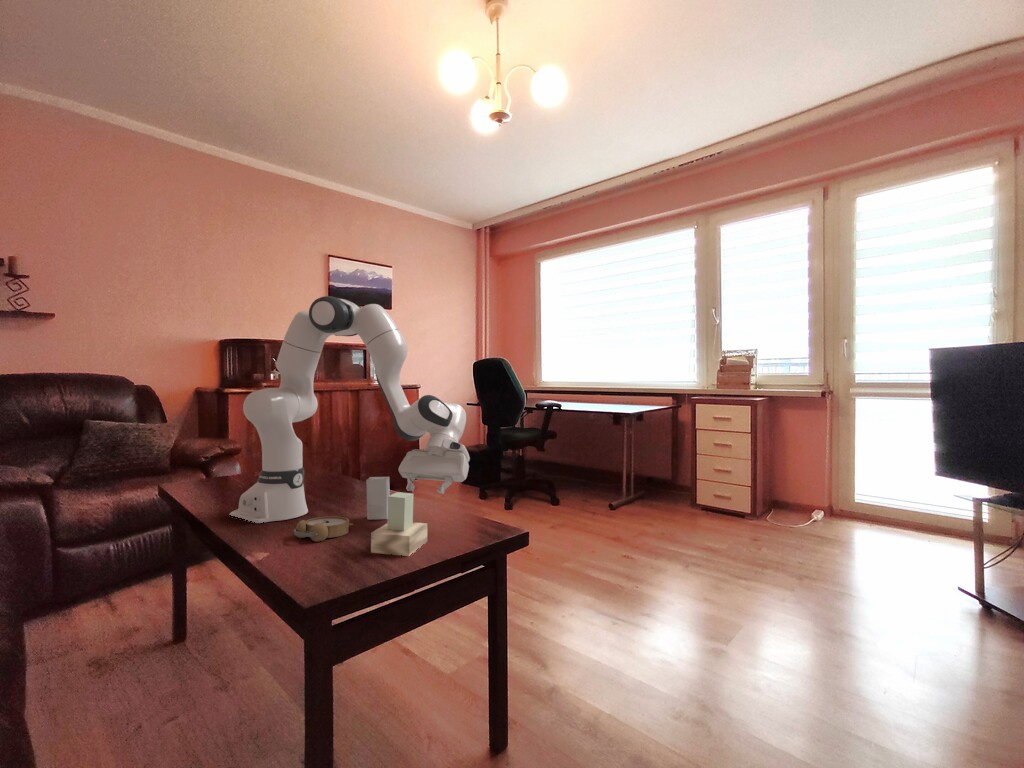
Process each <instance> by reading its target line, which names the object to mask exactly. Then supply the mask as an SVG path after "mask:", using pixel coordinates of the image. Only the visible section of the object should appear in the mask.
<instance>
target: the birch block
mask: <svg viewBox="0 0 1024 768" xmlns="http://www.w3.org/2000/svg"><path fill="white" fill-rule="evenodd" d="M427 543H428V523H427V522H425V523H424V522H415V521H413V526H411V527H409V528H408V529H406V530H405V531H399V530H391V529H387V523H385V524H384V525H382V526H380V527H378V528H376V529H375V530H374V531H372V532H371V533H370V553H371V554H381V555H382V554H383V555H391V554H392V555H394V556H401V555H402V556H403V557H410V555H411V554H412V553H413V554H414V553H416V552H417V551H418V550H419V549H420V548H422V547H423V546H424V545H425V544H427ZM423 544H424V545H423ZM422 545H423V546H422ZM421 546H422V547H421ZM418 548H419V549H418ZM417 549H418V550H417ZM416 550H417V551H416ZM413 554H412V555H413ZM412 555H411V556H412Z"/></svg>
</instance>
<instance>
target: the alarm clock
mask: <svg viewBox="0 0 1024 768" xmlns="http://www.w3.org/2000/svg"><path fill="white" fill-rule="evenodd" d="M351 526H354V523H351V522H350V519H349V518H348V517H345V516H335V515H333V516H332V515H331V516H318V517H312V518H308V519H306V520H304V519H301V520H300V521H298V522H297V524H296V527H294V529H293V535H294V536H295V537H297V538H299V539H301V538H304V539H305V538H307V537H308V538H310V539H311V540H312V541H313V542H314V543H321V542H323V541H325V540H326V539H330V538H336V537H337V538H338V537H342V536H344V535H347V534H348V533H349V531H350V530H349V528H350V527H351ZM320 541H321V542H320Z"/></svg>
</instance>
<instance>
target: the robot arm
mask: <svg viewBox="0 0 1024 768" xmlns="http://www.w3.org/2000/svg"><path fill="white" fill-rule="evenodd" d="M331 336H336V337H354V336H355V337H356V336H359V337H360V339H361V340H362V342H363V344H364V346H365V347H366V349H367V351H368V353H369V355H370V357H371V361H372V364H373V366H374V367H373V369H374V373H375V378H376V380H377V383H378V386H379V388H380V391H381V393H382V395H383V398H384V399H385V402H386V405H387V407H388V409H389V412H390V413H391V417H392V423H393V427H394V430H395V432H396V434H398V436H399V437H401V438H402V439H403V440H405V441H409V442H416V441H418V440H420V438H422V437H423V436H424V435H425V434H426V433H429V434H430V436H429V439H428V441H427V444H426V446H425V448H424V449H421V448H420V449H417V448H413V449H411V450H409V451H408V452H406V455H405V456H404V457H403V459H402V461H401V463H400V465H399V467H398V472H399V474H400V476H401V478H403V479H407V485H406V488H405V489H406V491H407V492H414V489H415V487H416V486H415V485H414V481H415V480H427V481H428V480H429V481H439V482H440V481H441V482H442V481H444V482H443V483H442V484H438V486H437V489H436V493H438V494H441V495H445V492H446V490H447V489H448V488H449V487H450V486H451V485H452V484H453V482H455V483H456V482H458V483H463V482H464V481H465V480H466V479H467V477H468V473H469V470H470V469H469V468H470V465H469V462H470V460H471V457H470V454H469V452H468V450H467V448H466V446H465V445H464V444H462V443H460V442H459V441H460V439H462V436H463V433H464V432H465V427H466V423H467V413H466V411H465V409H464V408H463V406H462V405H460V404H458V403H455V402H445V401H442V400H441V399H439V398H438V397H437V396H434V395H431V394H426V395H423V396H421V397H420V398H419V399H417V400H416V401H414V402H413V403H412V404H411V405H410V403H409V401H408V399H407V396H406V394H405V392H404V389H403V387H402V385H401V381H400V376H401V371H402V367H403V365H404V363H405V362H406V359H407V355H408V345H407V342H406V339H405V337H404V335H403V334H402V332H401V331H400V329H399V327H398V325H397V323H396V322H395V320H393V318H392V317H391V315H389V313H388V312H387V311H386V309H385V308H384V307H383V306H381V305H380V304H377V303H369V304H366V305H364V306H362V307H361V306H360V305H359V304H357V303H354V302H352V301H351V300H347V299H345V298H339V297H335V296H331V295H325V296H320V297H317V298H315V300H314V301H313V302H312V303H311V305H310V307H309V308H308V310H301V311H298V312H297V313H296V314H295V315H294V317H293V318H292V320H291V322H290V324H289V325H288V328H287V331H286V333H285V335H284V337H283V340H282V343H281V347H280V350H279V353H278V356H277V359H276V362H275V367H276V369H277V371H278V372H279V374H280V385H279V387H267V388H262V389H259V390H258V389H257V390H254V391H253V392H251V393H249V394H247V396H246V398H244V401H243V407H242V411H243V415H244V416H245V418H246V419H247V420H248V421H249V422H250V423H251V424H253V426H254V428H255V429H256V432H257V434H258V436H259V440H260V443H261V453H262V454H261V458H262V459H261V465H262V467H261V468H262V469H261V470H260V471H257V472H256V471H255V472H254V476H255V477H257V476H258V478H257V479H256V481H257V482H255V483H254V484H253V485H251V487H249V488H248V489H247V490H246V491H245V492H243V493H241V495H240V496H239V497H240V498H239V500H238V508H237V509H235V510H232V511H231V512H230V513H229V515H231V516H235V517H238V518H242V519H245V520H244V521H246V520H248V521H247V522H250V521H252V522H251V523H254V522H255V523H254V524H261V523H262V524H263V522H264V523H269V522H275V521H276V522H278V521H285V520H291V519H294V518H298V517H301V516H304V515H306V514H308V513H309V509H308V505H307V501H306V496H305V488H304V487H305V486H304V479H305V468H304V466H303V463H304V462H303V458H304V457H303V456H304V455H303V442H302V440H301V438H299V437H298V436H297V435H296V433H295V430H294V428H293V427H294V426H293V423H299V422H302V421H304V420H307V419H309V418H311V417H312V416H314V414H315V413H317V410H318V405H319V403H318V399H317V396H316V395H315V392H314V379H315V374H316V371H317V367H318V363H319V360H320V358H321V354H322V351H323V349H324V345H325V343H326V340H327V339H328V338H329V337H331ZM229 515H228V516H229Z"/></svg>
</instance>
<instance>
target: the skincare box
mask: <svg viewBox="0 0 1024 768" xmlns="http://www.w3.org/2000/svg"><path fill="white" fill-rule="evenodd" d="M365 481H366V482H365V483H366V519H367V520H370V521H371V520H388V496H390V495H391V494H390V493H391V492H390V491H391V490H390V487H391V486H390V476H370V477H368V478H367V479H366V480H365Z"/></svg>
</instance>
